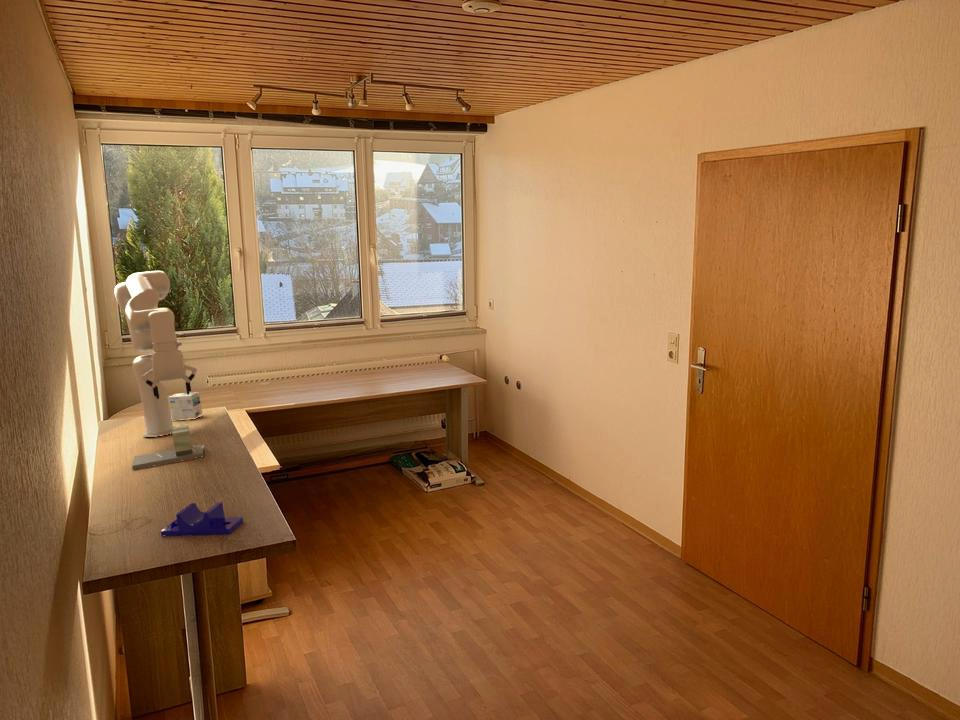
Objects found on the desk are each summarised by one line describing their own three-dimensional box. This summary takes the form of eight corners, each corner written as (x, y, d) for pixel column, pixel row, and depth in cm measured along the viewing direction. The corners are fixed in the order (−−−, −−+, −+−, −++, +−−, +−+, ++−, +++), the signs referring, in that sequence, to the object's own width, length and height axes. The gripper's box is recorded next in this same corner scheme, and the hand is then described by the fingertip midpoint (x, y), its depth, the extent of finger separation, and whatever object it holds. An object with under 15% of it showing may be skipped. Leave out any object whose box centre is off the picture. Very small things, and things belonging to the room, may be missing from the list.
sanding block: (176, 449, 248) (172, 427, 246) (191, 447, 250) (188, 425, 248) (176, 456, 240) (172, 433, 238) (192, 453, 241) (188, 430, 240)
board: (135, 460, 245) (134, 456, 244) (204, 448, 253) (204, 443, 252) (132, 470, 234) (132, 465, 233) (205, 456, 242) (205, 452, 241)
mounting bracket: (161, 537, 176) (157, 514, 175) (177, 525, 183) (173, 503, 182) (230, 536, 173) (226, 512, 172) (243, 523, 180) (240, 501, 179)
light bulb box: (203, 416, 304) (199, 391, 302) (195, 420, 297) (191, 395, 295) (180, 417, 305) (175, 393, 303) (171, 421, 298) (167, 396, 297)
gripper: (192, 342, 247) (200, 390, 250) (137, 348, 240) (146, 397, 244) (192, 345, 240) (200, 394, 243) (136, 352, 233) (145, 402, 237)
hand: (173, 396), depth 243 cm, fingers open, 9 cm apart
